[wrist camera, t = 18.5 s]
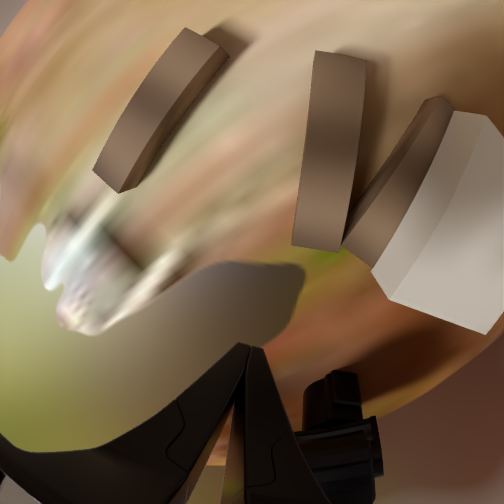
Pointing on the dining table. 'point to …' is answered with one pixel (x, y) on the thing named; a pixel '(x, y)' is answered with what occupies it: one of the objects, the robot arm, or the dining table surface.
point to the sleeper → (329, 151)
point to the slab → (453, 231)
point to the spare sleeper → (157, 108)
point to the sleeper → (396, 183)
